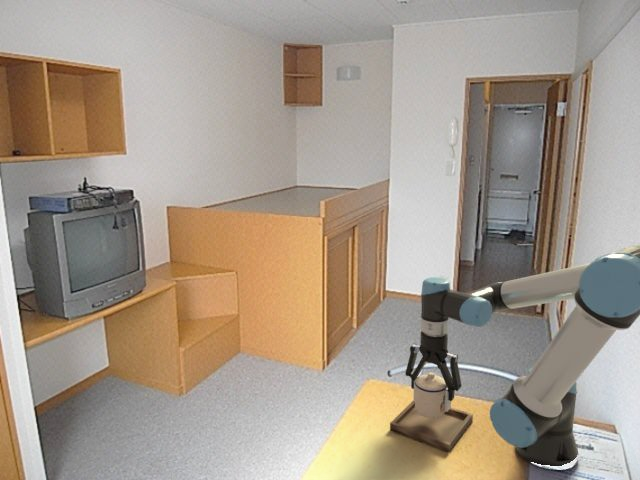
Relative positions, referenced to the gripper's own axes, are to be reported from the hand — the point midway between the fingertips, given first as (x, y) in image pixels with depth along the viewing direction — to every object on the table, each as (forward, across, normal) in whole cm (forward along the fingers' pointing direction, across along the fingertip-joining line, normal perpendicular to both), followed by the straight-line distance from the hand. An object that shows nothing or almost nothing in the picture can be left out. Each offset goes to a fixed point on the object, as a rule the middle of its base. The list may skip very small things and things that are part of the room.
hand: (431, 404), depth 141 cm
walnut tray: (+7, 0, 0) cm, 7 cm away
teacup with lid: (+2, -1, 0) cm, 2 cm away
